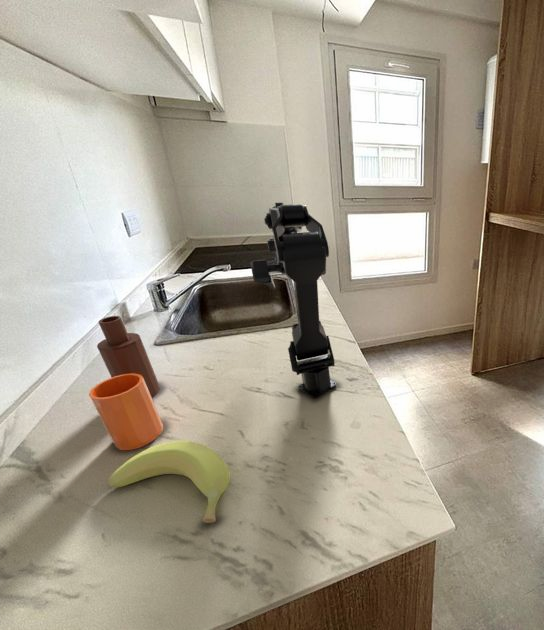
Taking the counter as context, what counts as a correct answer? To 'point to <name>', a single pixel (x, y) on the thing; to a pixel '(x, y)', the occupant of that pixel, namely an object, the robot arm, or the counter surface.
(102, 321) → the sauce bottle
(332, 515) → the counter surface
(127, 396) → the orange plastic tumbler
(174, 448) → the banana
